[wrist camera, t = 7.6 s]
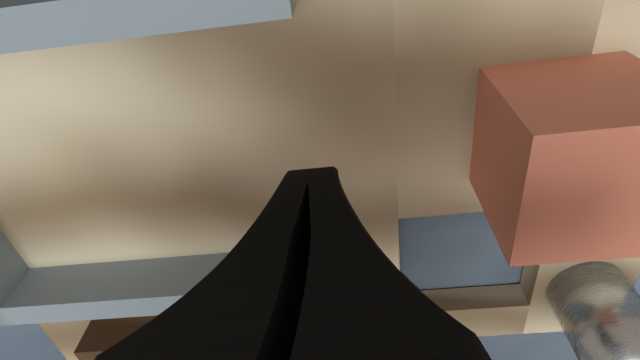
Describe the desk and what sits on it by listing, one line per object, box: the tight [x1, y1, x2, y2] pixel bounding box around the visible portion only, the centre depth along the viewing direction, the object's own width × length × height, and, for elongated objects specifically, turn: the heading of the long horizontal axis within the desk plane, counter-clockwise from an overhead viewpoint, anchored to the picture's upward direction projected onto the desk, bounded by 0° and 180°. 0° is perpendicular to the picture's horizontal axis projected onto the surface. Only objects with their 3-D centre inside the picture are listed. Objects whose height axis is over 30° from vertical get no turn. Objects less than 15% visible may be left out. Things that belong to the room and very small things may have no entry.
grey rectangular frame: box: [0, 0, 297, 326], centre depth 14 cm, size 11×14×2 cm
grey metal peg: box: [546, 261, 640, 360], centre depth 16 cm, size 3×3×4 cm
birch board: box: [0, 0, 640, 360], centre depth 16 cm, size 17×26×1 cm, turn 97°
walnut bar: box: [74, 315, 158, 360], centre depth 19 cm, size 4×8×2 cm, turn 97°
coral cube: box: [469, 51, 640, 267], centre depth 12 cm, size 4×4×4 cm
